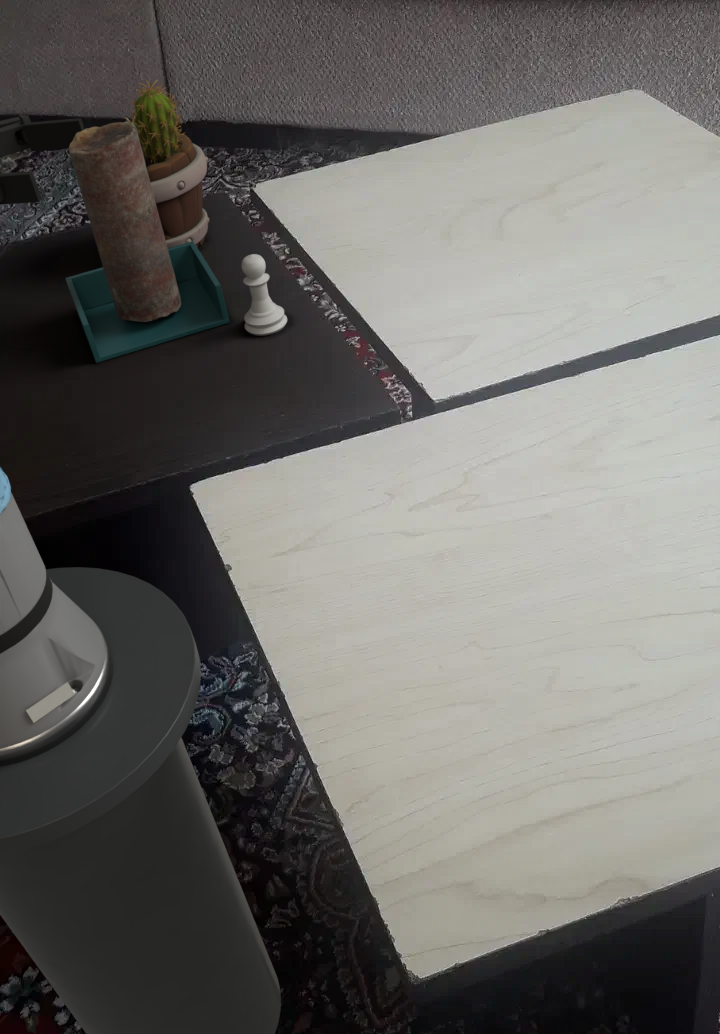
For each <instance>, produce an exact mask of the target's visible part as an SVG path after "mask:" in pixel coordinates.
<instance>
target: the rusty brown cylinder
mask: <svg viewBox="0 0 720 1034" xmlns="http://www.w3.org/2000/svg"><path fill="white" fill-rule="evenodd" d="M84 129H85V130H82V131H80V132H78V133H76V135H75V137H74V139H73V141H72V142H71V144H70V145H69V149H68V153H69V157H70V160H71V163H72V167H73V171H74V173H75V177H76V182H77V184H78V187H79V191H80V194H81V197H82V200H83V203H84V207H85V211H86V214H87V217H88V221H89V223H90V227H91V231H92V234H93V238H94V241H95V245H96V247H97V248H96V249H97V251H98V255H99V257H100V261H101V265H102V267H103V269H104V273H105V276H106V279H107V283H108V286H109V289H110V293H111V296H112V299H113V302H114V306H115V309H116V313H117V315H118V317H119V318H121V319H122V320H129V321H138V322H148V321H152V320H155V319H158V318H161V317H165V316H168V315H169V314H171V313H173V312H177V311H178V310H179V308H180V307H181V305H182V302H181V298H180V294H179V290H178V286H177V282H176V278H175V274H174V270H173V266H172V263H171V259H170V255H169V252H168V248H167V244H166V241H165V236H164V232H163V229H162V225H161V221H160V217H159V214H158V210H157V206H156V202H155V199H154V194H153V191H152V187H151V183H150V179H149V175H148V172H147V168H146V164H145V160H144V156H143V152H142V148H141V144H140V141H139V137H138V132H137V129H136V127H135V125H134V124H133V123H132V122H129V121H127V122H126V121H124V122H122V121H119V122H118V121H117V122H112V123H107V124H106V125H102V126H91V127H89V128H84Z"/></svg>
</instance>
